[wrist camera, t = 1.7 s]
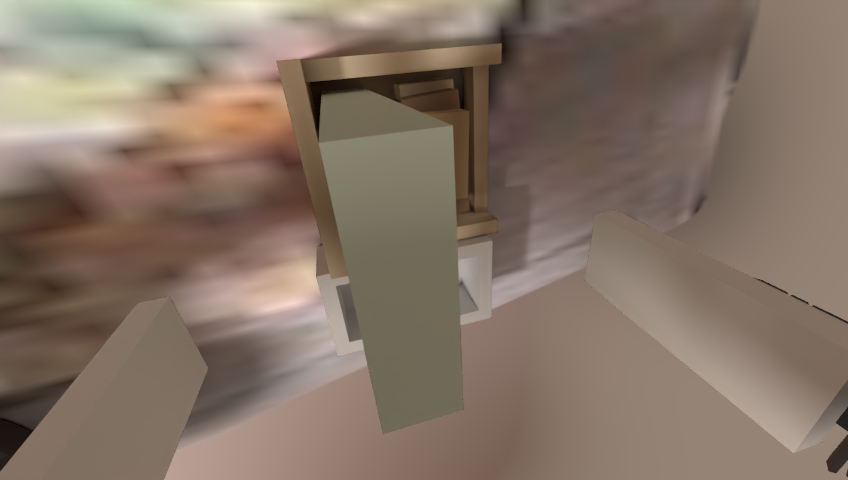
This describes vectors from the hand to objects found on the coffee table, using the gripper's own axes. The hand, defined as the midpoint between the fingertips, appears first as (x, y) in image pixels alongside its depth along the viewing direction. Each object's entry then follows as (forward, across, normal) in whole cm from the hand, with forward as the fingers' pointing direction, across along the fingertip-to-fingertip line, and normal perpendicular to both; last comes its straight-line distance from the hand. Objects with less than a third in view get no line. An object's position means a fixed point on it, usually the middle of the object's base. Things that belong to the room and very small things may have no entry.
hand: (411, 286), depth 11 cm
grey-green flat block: (+19, 0, 0) cm, 19 cm away
